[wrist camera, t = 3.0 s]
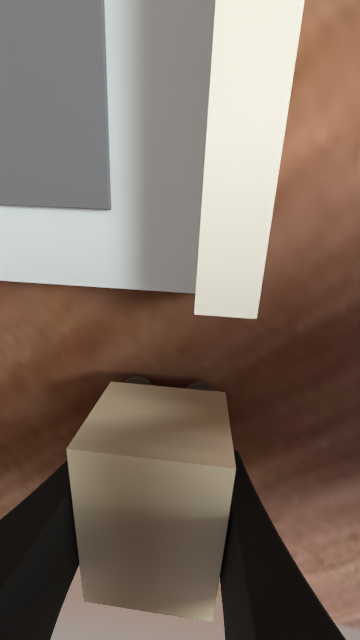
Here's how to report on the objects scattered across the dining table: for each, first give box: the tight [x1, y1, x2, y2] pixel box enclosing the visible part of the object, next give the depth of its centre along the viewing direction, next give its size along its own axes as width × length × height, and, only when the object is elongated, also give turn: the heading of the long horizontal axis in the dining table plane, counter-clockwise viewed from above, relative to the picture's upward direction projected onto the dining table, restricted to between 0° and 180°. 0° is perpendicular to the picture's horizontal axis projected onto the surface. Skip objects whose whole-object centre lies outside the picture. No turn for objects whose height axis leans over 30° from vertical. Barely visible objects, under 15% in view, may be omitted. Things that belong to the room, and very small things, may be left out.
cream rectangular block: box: [66, 376, 236, 622], centre depth 9 cm, size 4×6×4 cm, turn 177°
